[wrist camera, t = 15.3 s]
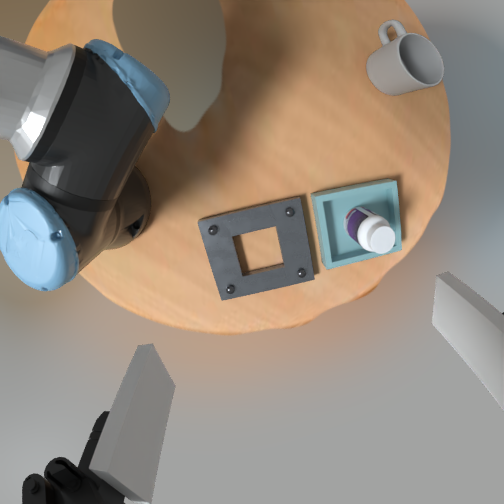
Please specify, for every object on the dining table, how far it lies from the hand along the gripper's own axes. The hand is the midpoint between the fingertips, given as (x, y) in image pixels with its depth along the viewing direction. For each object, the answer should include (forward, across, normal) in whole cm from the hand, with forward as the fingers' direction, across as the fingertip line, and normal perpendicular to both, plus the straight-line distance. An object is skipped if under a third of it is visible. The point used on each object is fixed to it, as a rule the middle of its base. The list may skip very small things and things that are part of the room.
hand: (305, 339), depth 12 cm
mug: (+35, +26, +19) cm, 47 cm away
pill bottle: (+34, +15, -7) cm, 38 cm away
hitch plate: (+35, -2, -8) cm, 36 cm away
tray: (+35, +15, -7) cm, 38 cm away
